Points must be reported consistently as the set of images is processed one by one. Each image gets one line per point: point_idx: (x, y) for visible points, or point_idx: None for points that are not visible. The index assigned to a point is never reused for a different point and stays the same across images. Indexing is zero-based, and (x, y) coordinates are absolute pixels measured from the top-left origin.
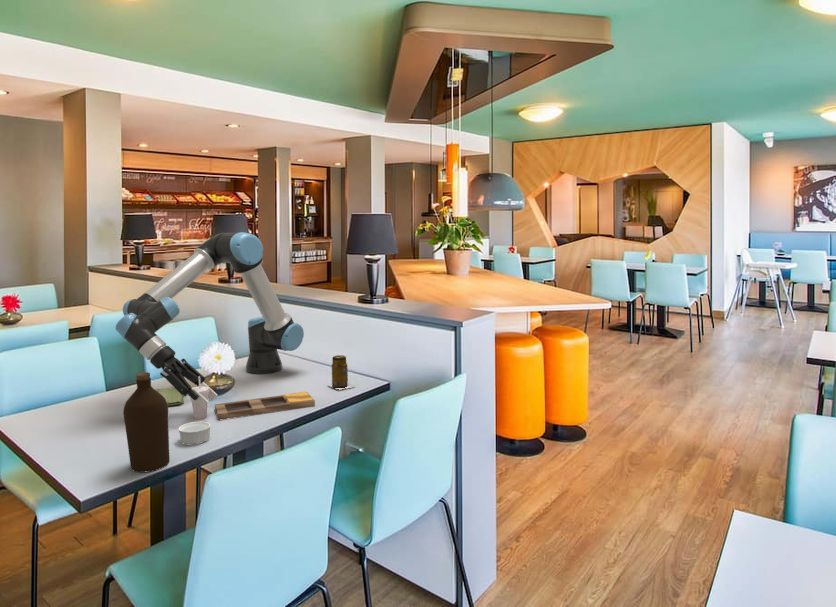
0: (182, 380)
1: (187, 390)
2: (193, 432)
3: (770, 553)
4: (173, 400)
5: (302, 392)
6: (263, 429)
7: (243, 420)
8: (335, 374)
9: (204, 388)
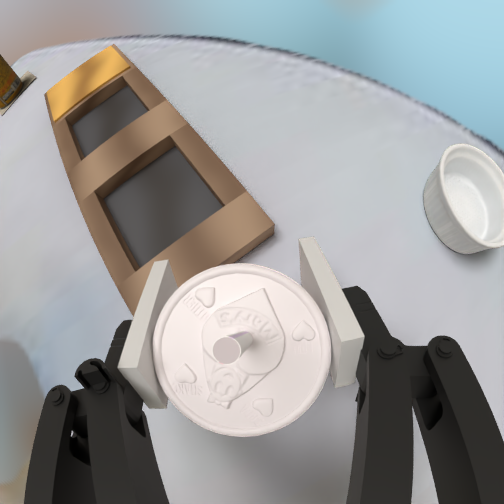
0: (408, 466)
1: (424, 347)
2: (502, 174)
3: None
4: None
5: (51, 93)
6: (314, 68)
7: (254, 140)
8: (3, 74)
9: (207, 314)
